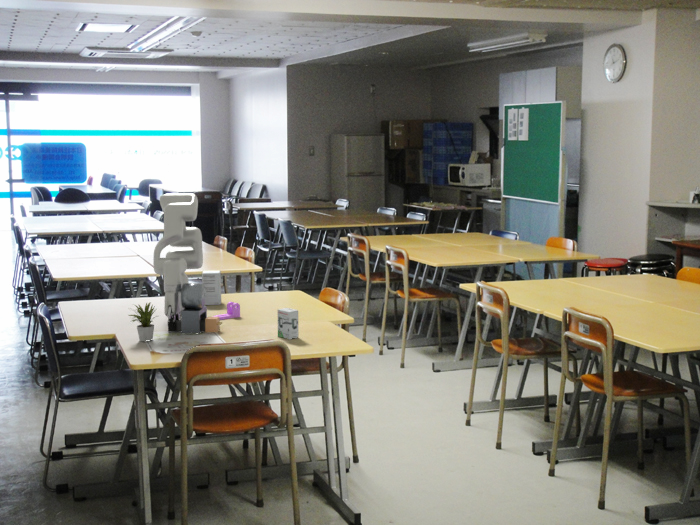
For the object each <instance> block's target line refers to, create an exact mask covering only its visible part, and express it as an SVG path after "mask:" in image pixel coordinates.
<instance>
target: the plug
mask: <svg viewBox="0 0 700 525" xmlns="http://www.w3.org/2000/svg"><path fill="white" fill-rule="evenodd" d="M175 322H176V331H181V319H180V320H175ZM200 325H201V333H211V332H214V334H215V333H216V334H217V333H218V332H219V331H220V329H221V328H220V327H221V325H223V322H222V321H220V320H219V317H213V316H207V318H206V319H205V320H200ZM168 331H169V325H168V324H167V332H168Z"/></svg>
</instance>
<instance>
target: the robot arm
mask: <svg viewBox="0 0 700 525" xmlns="http://www.w3.org/2000/svg"><path fill="white" fill-rule="evenodd" d="M159 204H160V207H161V209H162V211H163V236H162V237H161V239H160V240H158V242H157V244H156V245H155V247H154V251H153V271H154V273H155V274H156V275H159V276H163V290H164V291H163V293H164V307H163V308H164V315H165V316H167V326H168V325H169V331H176V322H175V320H181V310H183V309H184V308H183V307H182V304H181V289H182V286H183V284H184V283H190V280H189V276H188V274H186V271H187V270H196V269H197V270H198V269H201V268H202V267H203V264H204V256H203V255H204V254H203V253H204V252H203V235H202V234H203V233H202V231H201V229H200V228H198V227H196V226H191V227H190V226H187V225H186V222H194V221H196V220H197V216H198V208H199V199H198V196H197V195H196V194H195V193H191V192H190V193H185V192H183V193H174V192H173V193H172V192H171V193H165V194H162V195H161V196H159ZM168 246H170V247H172V248H191V249H172V250H169V251H167V253H166V254H165V257H161V253H162V251H163V250H164V249H165V248H166V247H168Z"/></svg>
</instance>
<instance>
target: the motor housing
mask: <svg viewBox="0 0 700 525" xmlns="http://www.w3.org/2000/svg"><path fill="white" fill-rule="evenodd" d="M205 301H206V290H205V285H204V284H203V283H202V282H200V283H198V282H197V283H196V282H195V283H193V282H191V283H190V282H189V283H184V284H183V286H182V289H181V304H182V307H183V308H184V309H183V310H181V316H180V320H181V331H182V332H181V334H182V333H198V334H197V335H200V334H201V333H202V332H201V325H200V320H205V319H206V318H207V317H208V313H207V312H208V311H207V309H208V308H207V306H208V305H205Z"/></svg>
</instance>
